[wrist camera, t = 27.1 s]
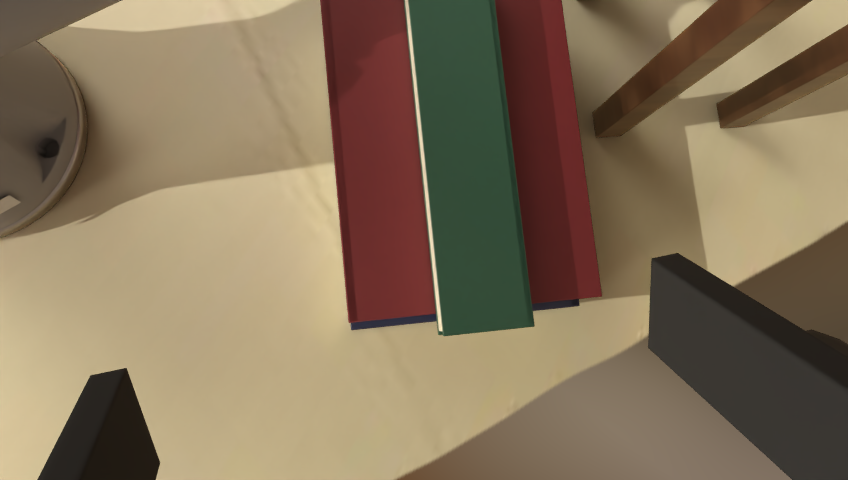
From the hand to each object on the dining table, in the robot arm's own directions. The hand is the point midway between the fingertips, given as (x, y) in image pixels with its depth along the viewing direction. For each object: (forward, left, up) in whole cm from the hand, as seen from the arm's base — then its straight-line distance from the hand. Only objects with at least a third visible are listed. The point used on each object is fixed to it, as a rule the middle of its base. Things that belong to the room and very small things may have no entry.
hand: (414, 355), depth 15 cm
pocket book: (-7, +9, -20) cm, 23 cm away
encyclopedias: (-8, +10, -28) cm, 30 cm away
